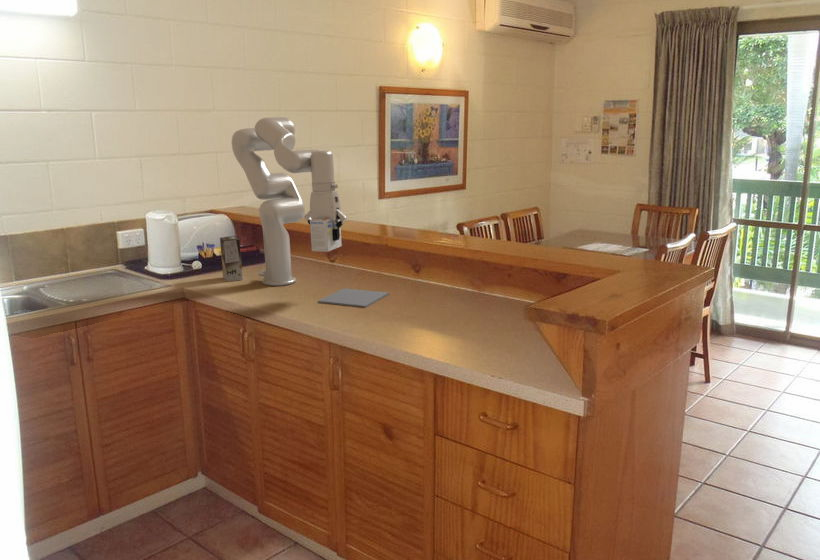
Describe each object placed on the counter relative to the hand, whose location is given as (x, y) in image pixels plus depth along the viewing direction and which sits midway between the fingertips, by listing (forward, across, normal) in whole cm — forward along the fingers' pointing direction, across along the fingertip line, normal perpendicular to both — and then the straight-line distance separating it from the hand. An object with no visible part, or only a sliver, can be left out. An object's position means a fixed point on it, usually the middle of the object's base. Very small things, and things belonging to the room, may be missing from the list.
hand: (326, 239), depth 235 cm
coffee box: (+19, +50, -10) cm, 54 cm away
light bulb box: (+4, 0, 0) cm, 4 cm away
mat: (+20, -9, 0) cm, 22 cm away
